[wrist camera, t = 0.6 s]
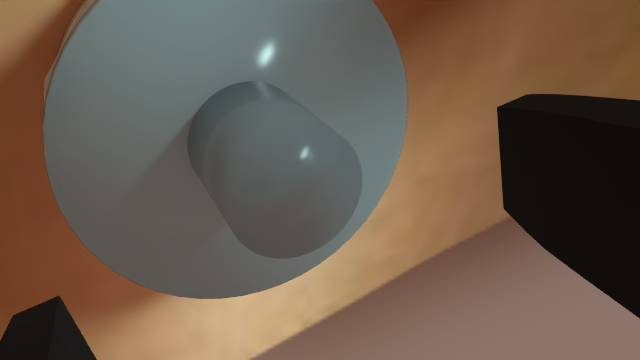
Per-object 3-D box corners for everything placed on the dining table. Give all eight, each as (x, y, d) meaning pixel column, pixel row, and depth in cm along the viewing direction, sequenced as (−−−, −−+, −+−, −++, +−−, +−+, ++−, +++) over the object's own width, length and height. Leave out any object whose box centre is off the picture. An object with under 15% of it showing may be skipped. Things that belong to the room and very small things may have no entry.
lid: (377, -99, 15) (476, -94, 11) (409, 217, 19) (486, 282, 16) (-31, -6, 12) (-49, 33, 9) (119, 336, 16) (143, 442, 13)
